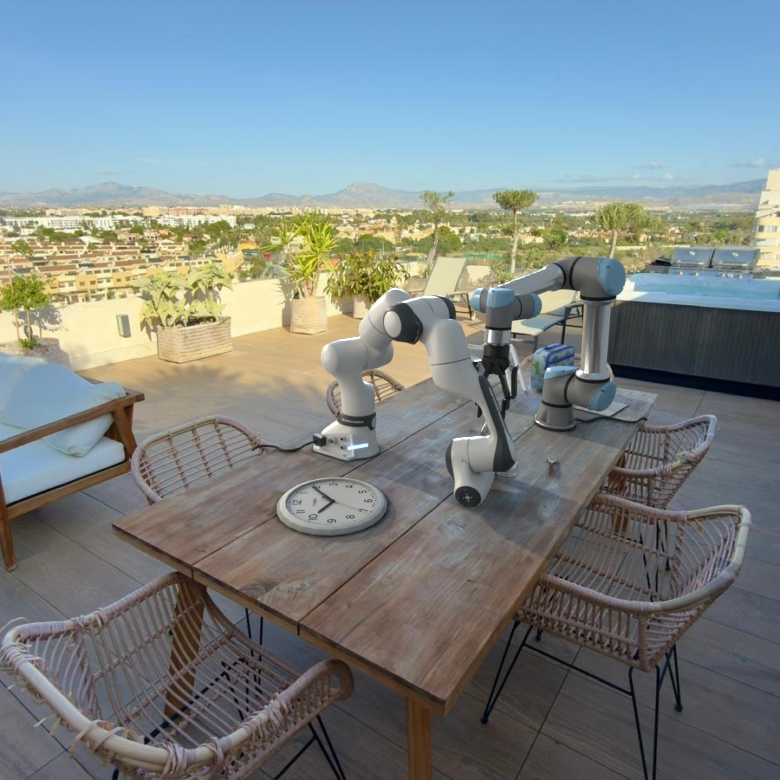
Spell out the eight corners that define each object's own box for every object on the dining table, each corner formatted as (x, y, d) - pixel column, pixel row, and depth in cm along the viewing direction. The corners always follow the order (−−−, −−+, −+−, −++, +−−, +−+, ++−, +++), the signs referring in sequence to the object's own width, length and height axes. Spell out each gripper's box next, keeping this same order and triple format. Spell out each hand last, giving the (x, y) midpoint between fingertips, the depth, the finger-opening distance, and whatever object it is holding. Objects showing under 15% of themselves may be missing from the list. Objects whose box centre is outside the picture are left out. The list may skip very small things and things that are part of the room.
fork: (545, 476, 161) (545, 470, 161) (548, 456, 176) (549, 450, 175) (553, 477, 160) (554, 471, 160) (556, 457, 175) (557, 452, 174)
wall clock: (392, 527, 129) (268, 531, 127) (391, 533, 130) (269, 537, 127) (383, 473, 158) (282, 475, 155) (383, 478, 158) (282, 480, 156)
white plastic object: (461, 429, 252) (437, 405, 227) (444, 352, 274) (420, 323, 250) (535, 404, 240) (518, 377, 215) (510, 326, 262) (492, 293, 237)
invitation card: (608, 416, 214) (573, 407, 224) (608, 416, 214) (573, 408, 224) (628, 404, 229) (594, 396, 238) (628, 405, 229) (594, 397, 238)
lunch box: (547, 395, 239) (552, 351, 233) (526, 390, 247) (530, 347, 240) (574, 384, 257) (579, 343, 251) (554, 380, 264) (558, 339, 258)
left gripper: (517, 468, 146) (523, 449, 158) (446, 456, 153) (457, 439, 165) (515, 488, 148) (521, 468, 160) (445, 476, 154) (456, 457, 167)
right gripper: (533, 344, 150) (526, 419, 157) (468, 337, 158) (464, 408, 165) (528, 349, 144) (520, 427, 151) (460, 341, 152) (456, 416, 159)
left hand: (488, 453), depth 163 cm, fingers closed on bottle, 5 cm apart
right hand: (491, 417), depth 158 cm, fingers open, 6 cm apart
